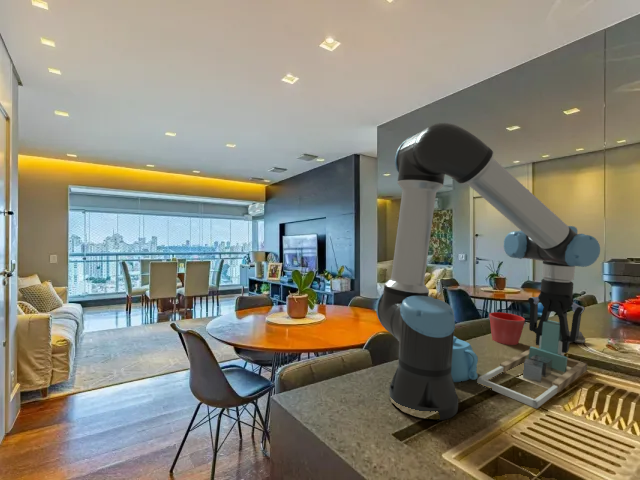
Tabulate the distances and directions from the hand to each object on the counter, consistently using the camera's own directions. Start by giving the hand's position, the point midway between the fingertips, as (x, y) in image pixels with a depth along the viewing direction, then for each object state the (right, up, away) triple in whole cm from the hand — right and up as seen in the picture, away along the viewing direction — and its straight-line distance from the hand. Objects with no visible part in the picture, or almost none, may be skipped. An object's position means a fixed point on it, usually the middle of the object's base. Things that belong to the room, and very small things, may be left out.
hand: (550, 359), depth 98 cm
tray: (-18, -3, -13) cm, 23 cm away
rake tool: (0, -1, 0) cm, 1 cm away
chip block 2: (-6, -2, -5) cm, 8 cm away
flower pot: (-2, -2, +21) cm, 21 cm away
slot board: (-4, -3, -3) cm, 6 cm away
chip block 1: (-10, -2, -8) cm, 13 cm away
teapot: (-32, -2, -4) cm, 32 cm away
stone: (+21, -3, +25) cm, 32 cm away
